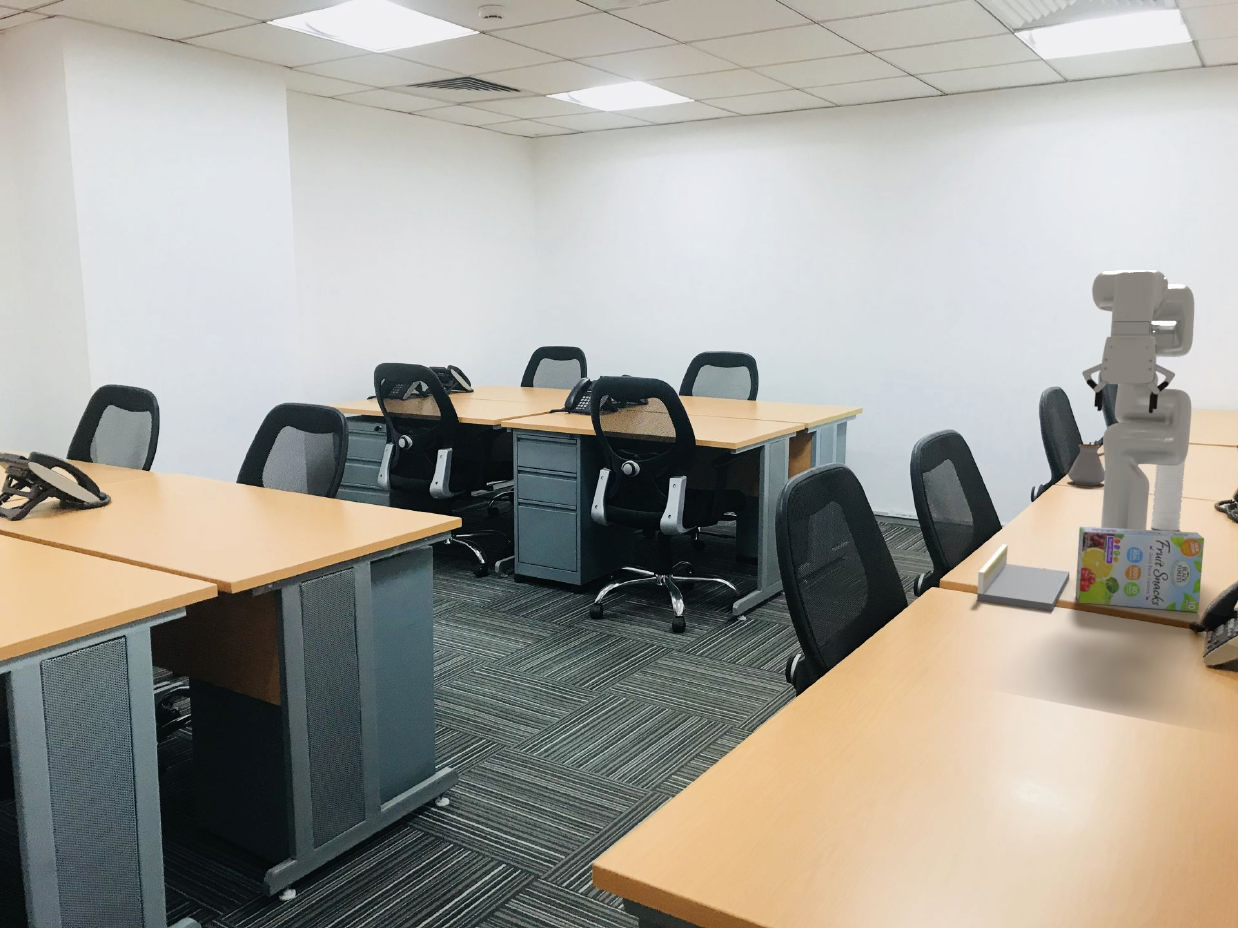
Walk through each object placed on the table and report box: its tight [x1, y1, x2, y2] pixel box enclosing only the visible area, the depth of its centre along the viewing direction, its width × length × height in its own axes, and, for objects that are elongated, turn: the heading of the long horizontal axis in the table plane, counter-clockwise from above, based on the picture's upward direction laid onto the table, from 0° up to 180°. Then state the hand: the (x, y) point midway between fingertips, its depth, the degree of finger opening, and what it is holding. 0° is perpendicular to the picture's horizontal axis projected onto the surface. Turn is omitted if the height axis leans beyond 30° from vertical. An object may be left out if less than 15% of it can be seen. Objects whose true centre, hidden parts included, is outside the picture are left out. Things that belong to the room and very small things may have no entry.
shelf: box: [976, 543, 1071, 612], centre depth 199 cm, size 26×14×6 cm, turn 148°
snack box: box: [1075, 526, 1205, 613], centre depth 187 cm, size 21×6×15 cm, turn 71°
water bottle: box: [1150, 459, 1186, 532], centre depth 250 cm, size 9×6×25 cm
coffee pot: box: [1067, 443, 1105, 486], centre depth 311 cm, size 21×12×15 cm, turn 56°
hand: (1124, 411), depth 200 cm, fingers open, 9 cm apart
